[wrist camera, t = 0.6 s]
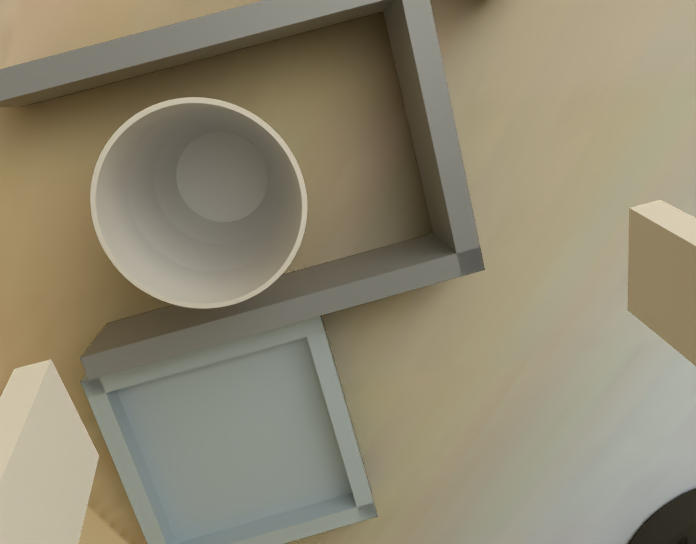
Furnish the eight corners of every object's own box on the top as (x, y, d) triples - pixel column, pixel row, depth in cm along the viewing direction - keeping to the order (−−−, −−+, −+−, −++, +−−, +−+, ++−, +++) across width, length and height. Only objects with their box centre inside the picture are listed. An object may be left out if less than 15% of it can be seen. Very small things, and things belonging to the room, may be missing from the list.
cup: (209, 64, 32) (179, 48, 23) (330, 168, 34) (350, 194, 25) (113, 186, 33) (45, 220, 24) (236, 280, 35) (219, 347, 26)
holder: (457, 247, 36) (484, 269, 31) (114, 342, 35) (89, 380, 31) (400, -20, 32) (421, -41, 27) (13, 82, 32) (-35, 78, 27)
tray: (371, 491, 40) (377, 516, 37) (169, 549, 39) (161, 579, 37) (317, 300, 36) (319, 314, 34) (93, 362, 36) (80, 381, 33)
